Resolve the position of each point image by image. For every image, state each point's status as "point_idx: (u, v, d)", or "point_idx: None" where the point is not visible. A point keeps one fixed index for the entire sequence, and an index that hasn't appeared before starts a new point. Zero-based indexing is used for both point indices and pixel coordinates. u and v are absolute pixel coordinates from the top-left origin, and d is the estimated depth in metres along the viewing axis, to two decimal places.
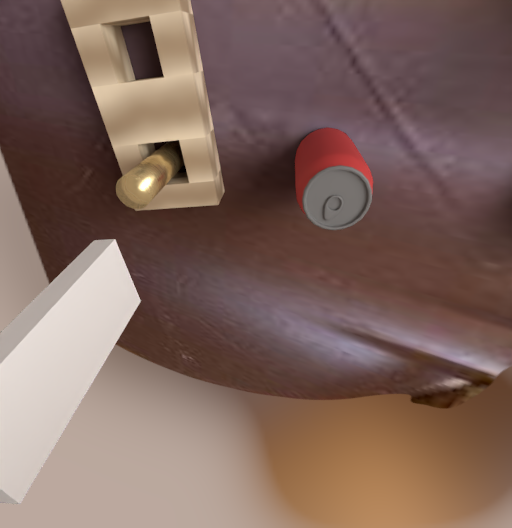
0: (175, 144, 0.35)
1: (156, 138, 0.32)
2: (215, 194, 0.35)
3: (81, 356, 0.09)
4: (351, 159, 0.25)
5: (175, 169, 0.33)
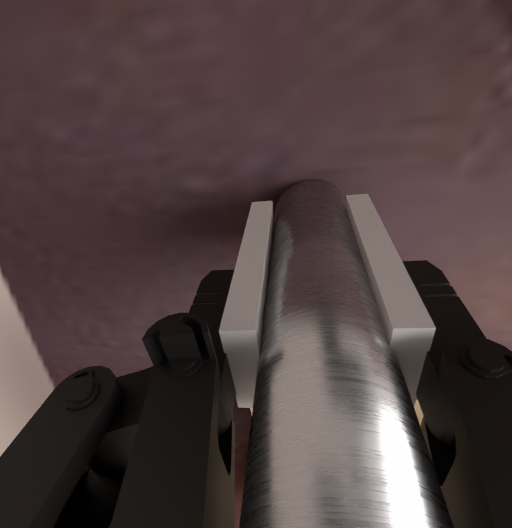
0: None
1: None
2: None
3: None
4: None
5: None
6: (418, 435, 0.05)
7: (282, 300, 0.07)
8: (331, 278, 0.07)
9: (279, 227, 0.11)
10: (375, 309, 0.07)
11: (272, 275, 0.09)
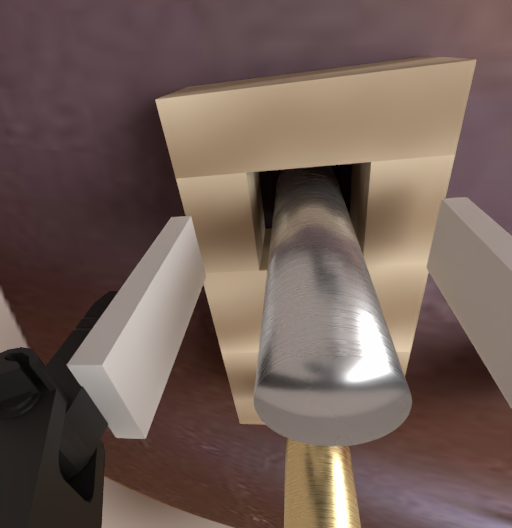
0: None
1: None
2: None
3: (175, 317, 0.10)
4: None
5: None
6: (374, 296, 0.07)
7: (285, 230, 0.10)
8: (321, 215, 0.10)
9: (281, 190, 0.13)
10: (352, 236, 0.10)
11: (276, 220, 0.11)
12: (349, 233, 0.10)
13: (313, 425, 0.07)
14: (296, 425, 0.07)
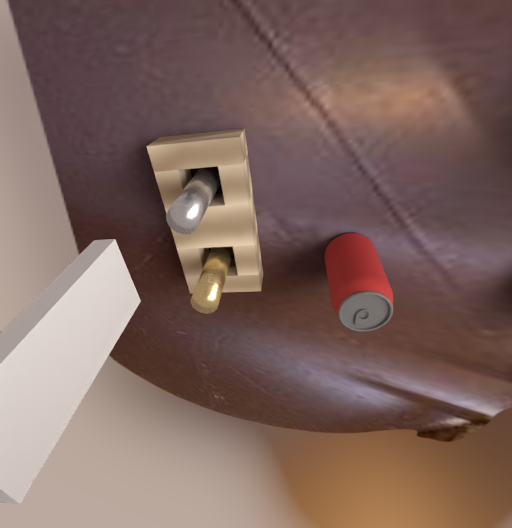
0: None
1: (214, 244, 0.40)
2: (259, 283, 0.43)
3: (81, 355, 0.09)
4: (377, 284, 0.33)
5: (228, 268, 0.40)
6: (199, 200, 0.30)
7: (185, 187, 0.33)
8: (196, 182, 0.33)
9: None
10: (204, 188, 0.32)
11: None
12: (203, 187, 0.32)
13: (180, 226, 0.29)
14: (177, 227, 0.29)
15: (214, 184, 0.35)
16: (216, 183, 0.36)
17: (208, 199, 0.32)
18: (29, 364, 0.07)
